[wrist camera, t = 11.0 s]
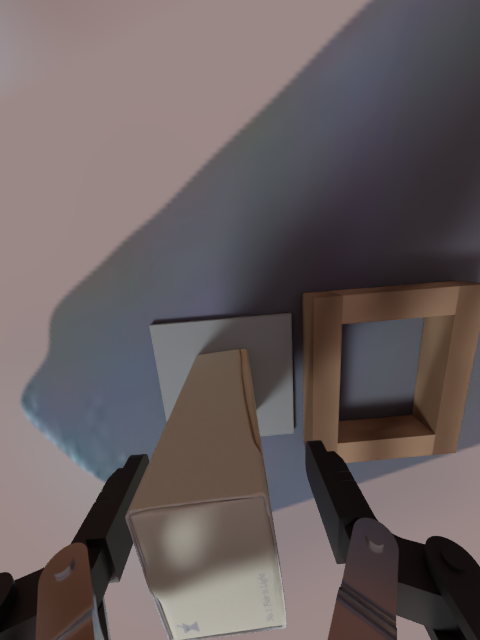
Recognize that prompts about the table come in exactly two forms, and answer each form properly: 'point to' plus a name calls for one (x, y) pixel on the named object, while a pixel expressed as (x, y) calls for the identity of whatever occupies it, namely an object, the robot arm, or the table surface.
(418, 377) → the frame
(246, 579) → the skincare box
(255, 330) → the slate mat
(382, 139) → the table surface
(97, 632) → the robot arm
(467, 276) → the table surface
